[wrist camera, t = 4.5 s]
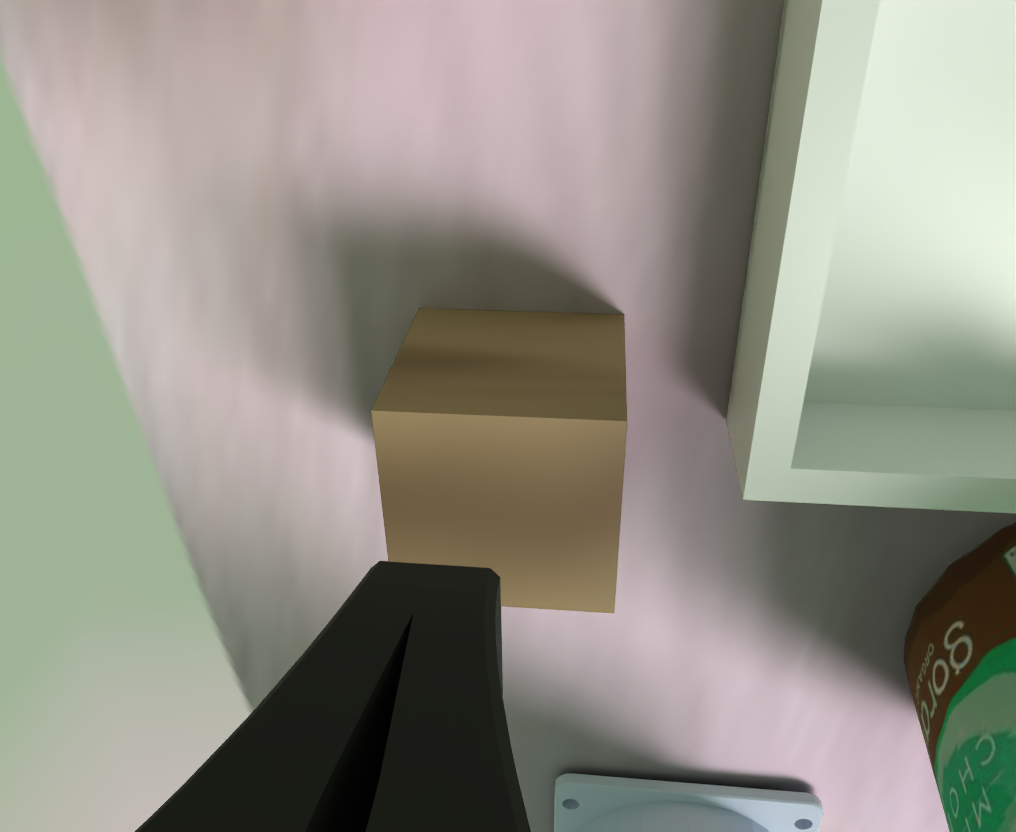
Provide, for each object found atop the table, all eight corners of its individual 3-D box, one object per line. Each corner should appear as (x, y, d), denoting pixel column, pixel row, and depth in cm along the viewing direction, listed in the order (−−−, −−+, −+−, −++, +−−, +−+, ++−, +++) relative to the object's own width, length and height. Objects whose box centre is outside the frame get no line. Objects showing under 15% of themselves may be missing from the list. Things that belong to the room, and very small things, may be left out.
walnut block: (614, 481, 21) (613, 613, 17) (432, 472, 21) (393, 599, 18) (624, 312, 19) (627, 421, 15) (420, 306, 19) (371, 410, 15)
